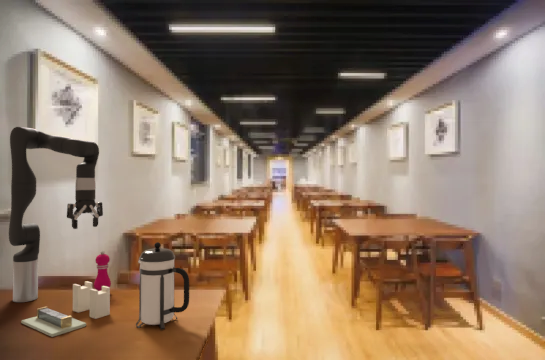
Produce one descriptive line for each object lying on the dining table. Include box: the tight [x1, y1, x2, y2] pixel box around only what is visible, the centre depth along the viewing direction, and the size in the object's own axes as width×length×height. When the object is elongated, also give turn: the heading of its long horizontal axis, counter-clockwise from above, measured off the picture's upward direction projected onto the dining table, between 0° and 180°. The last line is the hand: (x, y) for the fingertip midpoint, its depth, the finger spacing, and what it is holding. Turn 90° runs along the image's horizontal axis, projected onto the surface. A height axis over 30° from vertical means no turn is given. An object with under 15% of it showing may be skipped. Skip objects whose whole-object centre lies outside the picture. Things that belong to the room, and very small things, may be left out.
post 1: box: [72, 280, 93, 313], centre depth 158 cm, size 4×6×11 cm, turn 146°
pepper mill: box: [93, 250, 112, 291], centre depth 180 cm, size 7×7×20 cm
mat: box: [21, 315, 87, 338], centre depth 142 cm, size 22×12×1 cm, turn 56°
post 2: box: [89, 286, 111, 320], centre depth 152 cm, size 4×6×11 cm, turn 146°
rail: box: [36, 306, 73, 329], centre depth 142 cm, size 18×3×3 cm, turn 56°
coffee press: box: [135, 241, 190, 331], centre depth 144 cm, size 17×16×30 cm
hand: (85, 227), depth 162 cm, fingers open, 8 cm apart
